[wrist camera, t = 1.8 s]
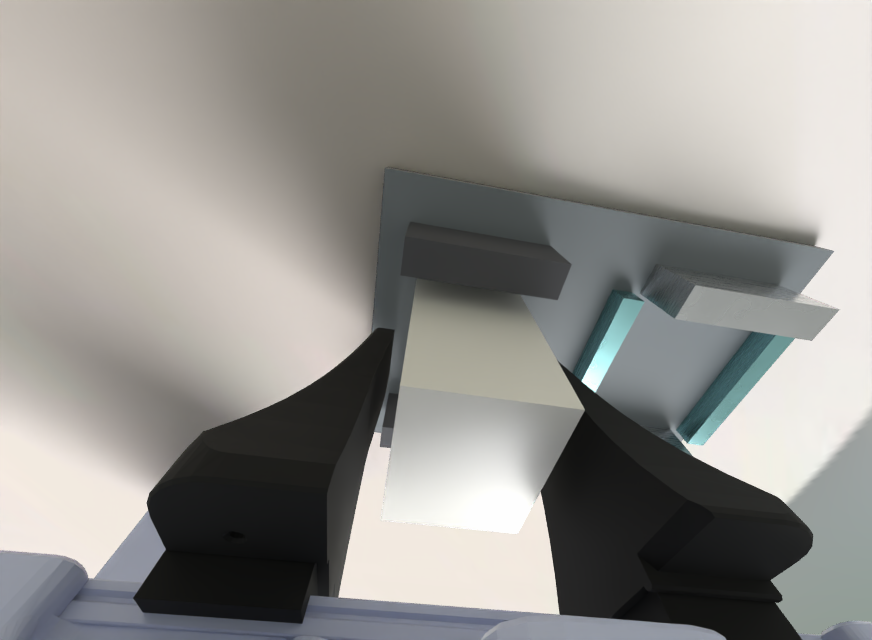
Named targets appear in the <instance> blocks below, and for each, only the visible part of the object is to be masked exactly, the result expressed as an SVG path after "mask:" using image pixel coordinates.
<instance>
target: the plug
mask: <svg viewBox="0 0 872 640" xmlns="http://www.w3.org/2000/svg"><path fill="white" fill-rule="evenodd" d="M584 411H585V409H584V407H583V405H582V404H581V402H580V400H579V398H578V397H577V395H576V393H575V391H574V389H573V388H572V386H571V384H570V382H569V381H568V379H567V377H566V375H565V373H564V372H563V370H562V368H561V366H560V365H559V363H558V361H557V359H556V357H555V356H554V354H553V352H552V350H551V349H550V347H549V345H548V343H547V341H546V340H545V338H544V336H543V334H542V333H541V331H540V329H539V327H538V325H537V324H536V322H535V320H534V318H533V317H532V315H531V313H530V311H529V309H528V308H527V306H526V304H525V302H524V301H523V299H522V297H521V295H520V294H513V293H507V292H501V291H494V290H488V289H482V288H475V287H469V286H463V285H457V284H450V283H444V282H438V281H431V280H425V279H419V278H417V280H416V287H415V293H414V299H413V306H412V312H411V319H410V325H409V331H408V338H407V344H406V350H405V357H404V363H403V369H402V376H401V382H400V389H399V396H398V402H397V409H396V416H395V423H394V430H393V437H392V444H391V451H390V458H389V464H388V471H387V478H386V485H385V492H384V499H383V506H382V513H381V520H380V521H389V522H400V523H410V524H420V525H430V526H441V527H451V528H461V529H471V530H482V531H492V532H502V533H513V534H518V532H519V530H520V528H521V526H522V525H523V523H524V521H525V519H526V517H527V515H528V514H529V512H530V510H531V508H532V506H533V504H534V503H535V501H536V499H537V497H538V495H539V493H540V492H541V490H542V488H543V486H544V484H545V482H546V481H547V479H548V477H549V475H550V473H551V471H552V470H553V468H554V466H555V464H556V462H557V460H558V459H559V457H560V455H561V453H562V451H563V449H564V448H565V446H566V444H567V442H568V440H569V438H570V437H571V435H572V433H573V431H574V429H575V427H576V426H577V424H578V422H579V420H580V418H581V416H582V415H583V413H584Z"/></svg>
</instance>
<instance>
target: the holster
mask: <svg viewBox="0 0 872 640" xmlns="http://www.w3.org/2000/svg"><path fill="white" fill-rule="evenodd" d="M571 265H572V264H571V263H570V262H568V261H567V260H566V259H565V258H564V257H563V256H562V255H560V254H559V253H558V252H557V251H556V250H555V249H554V248H552V247H551V246H548V245H543V244H537V243H531V242H525V241H519V240H514V239H508V238H502V237H496V236H490V235H485V234H479V233H473V232H467V231H462V230H456V229H450V228H444V227H438V226H433V225H427V224H421V223H415V222H410V224H409V227H408V229H407V232H406V235H405V240H404V249H403V257H402V266H401V274H400V275H401V276H407V277H414V278H420V279H426V280H432V281H439V282H445V283H451V284H458V285H464V286H470V287H477V288H483V289H489V290H495V291H502V292H508V293H514V294H521V295H527V296H533V297H540V298H546V299H552V300H558V298H559V296H560V293H561V291H562V288H563V285H564V283H565V280H566V278H567V275H568V273H569V270H570V268H571ZM398 396H399V394H394V393H389V395H388V400H387V405H386V410H385V416H384V421H383V426H382V433H381V442H380V447H387V448H391V444H392V437H393V430H394V423H395V416H396V409H397V402H398Z"/></svg>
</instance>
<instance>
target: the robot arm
mask: <svg viewBox="0 0 872 640" xmlns="http://www.w3.org/2000/svg"><path fill="white" fill-rule="evenodd" d="M394 332H395V330H393V329H386V328H379V327H378V328H376V329H375V330H374V331H373V332H372V334H371V335H370V336H369V337H368V338H367V339H366V340H365V341H364V342H363V343H362V344H361V345H360V346H359V347H358V348H357V349H356V350H355V351H354V352H353V353H352V354H351V355H349V356H348V357H347V358H346V359H345V360H344V361H342V362H341V363H340V364H339V365H337V366H336V367H335V368H334V369H332V370H331V371H330V372H328V373H327V374H326V375H324V376H323V377H321V378H320V379H318V380H317V381H315V382H314V383H312V384H311V385H309V386H307V387H306V388H304V389H302V390H300V391H299V392H297V393H295V394H293V395H291V396H289V397H288V398H286V399H284V400H282V401H280V402H277V403H275V404H273V405H271V406H269V407H267V408H264V409H262V410H260V411H257V412H255V413H253V414H250V415H248V416H245V417H243V418H240V419H237V420H234V421H232V422H229V423H226V424H223V425H221V426H218V427H215V428H212V429H209V430H206V431H203V432H202V433H201V434H200V436H199V437H198V438H197V439H196V440H195V441H194V442H193V443H192V444H191V445H190V446H189V447H188V448H187V449H186V450H185V451H184V452H183V454H182V455H181V456H180V457H179V458H178V459H177V461H176V462H175V463H174V464H173V465H172V467H171V468H170V469H169V470H168V471H167V473H166V474H165V475H164V476H163V477H162V479H161V480H160V481H159V482H158V484H157V485H156V486H155V487H154V488H153V490H152V491H151V492H150V493H149V497H148V500H147V506H148V511H147V513H146V514H145V515H144V516H143V518H142V519H141V520H140V521H139V523H138V524H137V525H136V526H135V528H134V529H133V530H132V531H131V533H130V534H129V535H128V536H127V538H126V539H125V540H124V541H123V543H122V544H121V545H120V546H119V548H118V549H117V550H116V551H115V553H114V554H113V555H112V556H111V558H110V559H109V560H108V561H107V563H106V564H105V565H104V566H103V568H102V569H101V570H100V571H99V573H98V574H97V575H96V577H95V578H94V579H92V578H88V575H87V572H86V570H85V568H84V567H83V566H82V565H81V564H80V563H79V562H77V561H76V560H73V559H71V558H68V557H65V556H60V555H52V554H39V553H27V552H15V551H3V550H1V551H0V640H872V622H865V621H847V622H842V623H839V624H836V625H833V626H831V627H829V628H827V629H826V630H824V631H822V633H821V635H814V634H800V633H797V632H796V630H795V629H794V628H793V626H792V625H791V624H790V622H789V621H788V620H787V618H786V617H785V616H784V614H783V613H782V612H781V610H780V609H779V608H778V606H777V605H776V603H779V602H780V601H782V595H781V594H780V593H779V591H778V590H777V589H776V587H775V586H774V585H773V583H772V582H771V581H770V580H771V579H773V578H774V577H776V576H777V575H778V574H780V573H782V572H783V571H784V570H786V569H787V568H789V567H790V566H792V565H793V564H795V563H796V562H798V561H799V560H800V559H801V558H802V557H804V556H805V555H806V554H807V553H808V552H809V550H810V549H811V547H812V542H813V534H812V532H811V530H810V529H809V528H808V527H807V525H805V523H803V521H801V519H800V518H799V517H798V516H797V515H796V514H795V513H794V512H793V511H792V510H791V509H790V508H789V507H788V506H787V505H786V504H785V503H784V502H783V501H782V500H780V499H779V498H778V497H776V496H774V495H772V494H770V493H767V492H765V491H763V490H761V489H759V488H757V487H754V486H752V485H750V484H748V483H746V482H743V481H741V480H739V479H737V478H735V477H732V476H730V475H728V474H726V473H724V472H722V471H720V470H718V469H716V468H714V467H712V466H710V465H708V464H706V463H704V462H702V461H700V460H698V459H696V458H694V457H693V456H691V455H689V454H687V453H685V452H683V451H682V450H680V449H678V448H676V447H675V446H673V445H671V444H670V443H668V442H666V441H664V440H663V439H661V438H659V437H658V436H656V435H654V434H653V433H651V432H650V431H648V430H646V429H645V428H643V427H642V426H640V425H639V424H637V423H636V422H634V421H633V420H631V419H630V418H628V417H627V416H625V415H624V414H623V413H621V412H620V411H618V410H617V409H616V408H614V407H613V406H612V405H610V404H609V403H608V402H607V401H605V400H604V399H603V398H601V397H600V396H599V395H598V394H596V393H595V392H594V391H593V390H591V389H590V388H589V387H588V386H587V385H585V384H584V383H583V382H582V381H581V380H579V379H578V378H577V377H576V376H575V375H574V374H573V373H571V372H570V371H569V370H568V369H567V368H566V367H564V366H563V365H562V364H561V363H560V362H559V361H558V363H559V365H560V366H561V368H562V370H563V372H564V373H565V375H566V377H567V379H568V381H569V382H570V384H571V386H572V388H573V389H574V391H575V393H576V395H577V397H578V398H579V400H580V402H581V404H582V405H583V407H584V409H585V411H584V413H583V415H582V416H581V418H580V420H579V422H578V424H577V426H576V427H575V429H574V431H573V433H572V435H571V437H570V438H569V440H568V442H567V444H566V446H565V448H564V449H563V451H562V453H561V455H560V457H559V459H558V460H557V462H556V464H555V466H554V468H553V470H552V471H551V473H550V475H549V477H548V479H547V481H546V482H545V484H544V486H543V488H542V490H541V495H542V500H543V505H544V510H545V515H546V521H547V527H548V532H549V538H550V545H551V551H552V558H553V565H554V572H555V579H556V587H557V596H558V604H559V613H560V615H556V614H543V613H530V612H517V611H504V610H491V609H479V608H466V607H453V606H440V605H427V604H414V603H401V602H388V601H375V600H362V599H350V598H338V595H339V590H340V584H341V579H342V574H343V569H344V564H345V559H346V554H347V549H348V544H349V539H350V534H351V529H352V524H353V519H354V514H355V509H356V504H357V500H358V495H359V490H360V485H361V480H362V476H363V471H364V466H365V462H366V458H367V454H368V450H369V447H370V444H371V441H372V437H373V434H374V431H375V428H376V424H377V421H378V418H379V415H380V412H381V408H382V405H383V402H384V399H385V394H386V389H387V384H388V379H389V373H390V365H391V356H392V348H393V340H394ZM775 602H776V603H775Z"/></svg>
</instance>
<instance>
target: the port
mask: <svg viewBox="0 0 872 640" xmlns="http://www.w3.org/2000/svg"><path fill="white" fill-rule="evenodd" d="M640 294H641V295H642V296H644V297H645V298H646V299H648V300H649V301H651V302H652V303H653V304H655V305H656V306H658V307H659V308H660V309H662V310H663V311H664V312H666V313H667V314H669V315H670V316H671V317H673V318H674V319H678V320H684V321H691V322H697V323H703V324H710V325H716V326H722V327H728V328H735V329H741V330H747V331H752V332H751V334H750V335H749V336H748V337H747V339H746V340H745V341H744V343H743V344H742V345H741V347H740V348H739V349H738V350H737V352H736V353H735V354H734V356H733V357H732V358H731V360H730V361H729V362H728V363H727V365H726V366H725V367H724V369H723V370H722V371H721V372H720V374H719V375H718V376H717V378H716V379H715V380H714V382H713V383H712V384H711V385H710V387H709V388H708V389H707V391H706V392H705V393H704V394H703V396H702V397H701V398H700V400H699V401H698V402H697V404H696V405H695V406H694V407H693V409H692V410H691V411H690V413H689V414H688V415H687V417H686V418H685V419H684V420H683V422H682V423H681V424H680V426H679V427H678V428H677V429H676V431H677V432H678V433H679V434H680V435H681V436H682V438H683V439H684V440H685V441H686V442H687V443H688V444H696V445H704V443H705V442H706V441H707V440H708V439H709V438H710V437H711V435H712V434H713V433H714V432H715V431H716V430H717V428H718V427H719V426H720V425H721V424H722V423H723V421H724V420H725V419H726V418H727V417H728V416H729V414H730V413H731V412H732V411H733V410H734V409H735V407H736V406H737V405H738V404H739V403H740V402H741V401H742V399H743V398H744V397H745V396H746V395H747V394H748V392H749V391H750V390H751V389H752V388H753V387H754V385H755V384H756V383H757V382H758V381H759V380H760V378H761V377H762V376H763V375H764V374H765V373H766V371H767V370H768V369H769V368H770V367H771V366H772V364H773V363H774V362H775V361H776V360H777V359H778V358H779V356H780V355H781V354H782V353H783V352H784V351H785V349H786V348H787V347H788V346H789V345H790V344H791V342H792V341H793V340H794V339H795V338H798V339H804V340H810V341H812V340H813V339H814V338H815V337H816V335H817V334H818V333H819V332H820V331H821V330H822V329H823V328H824V327H825V325H826V324H827V323H828V322H829V321H830V320H831V319H832V318H833V316H834V315H835V314H836V313H837V312H838V311H839V309H837V308H834V307H832V306H829V305H827V304H824V303H822V302H820V301H817V300H815V299H812V298H810V297H807V296H805V295H802V294H800V293H797V292H795V291H792V290H790V289H787V288H785V287H782V286H780V285H774V284H769V283H763V282H757V281H751V280H745V279H740V278H734V277H728V276H722V275H716V274H711V273H705V272H699V271H693V270H687V269H682V268H676V267H670V266H664V265H658V264H656V265H655V266H654V268H653V270H652V272H651V274H650V276H649V278H648V280H647V281H646V283H645V285H644V287H643V289H642V291H641V293H640ZM644 302H645V301H643V300H642V299H641V298H639V297H638V296H637V295H635V294H634V293H632V292H626V291H620V290H614V289H613V290H612V292H611V294H610V296H609V298H608V300H607V303H606V305H605V307H604V309H603V311H602V313H601V315H600V317H599V319H598V321H597V323H596V325H595V327H594V330H593V332H592V334H591V336H590V338H589V340H588V342H587V344H586V346H585V348H584V350H583V352H582V354H581V357H580V359H579V361H578V363H577V365H576V367H575V369H574V371H573V374H574V375H575V376H576V377H577V378H578V379H579V380H581V381H582V382H583V383H584V384H585V385H587V386H588V387H589V388H590V389H591V390H593V391H594V392H596V390H597V388H598V386H599V385H600V383H601V381H602V379H603V377H604V375H605V374H606V372H607V370H608V368H609V366H610V364H611V363H612V361H613V359H614V357H615V355H616V353H617V352H618V350H619V348H620V346H621V344H622V342H623V341H624V339H625V337H626V335H627V333H628V331H629V330H630V328H631V326H632V324H633V322H634V321H635V319H636V317H637V315H638V313H639V311H640V310H641V308H642V306H643V304H644ZM640 426H641V425H640ZM642 427H643V428H645V429H646V430H648V431H650V432H651V433H653V434H654V435H656V436H658V437H659V438H661V439H663V440H664V441H666V442H668V443H670V444H671V445H673V446H675V447H676V448H678V449H680V450H682V451H683V452H685V453H687V454H689V455H691V454H690V452H689V451H688V450H687V449H686V447H685V446H684V445H683V444H682V443H681V441H680V440H679V439H678V438H677V437H676V435H675V434H674V433H673V432H672V431H671V429H664V428H657V427H649V426H642ZM691 456H692V455H691Z"/></svg>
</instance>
